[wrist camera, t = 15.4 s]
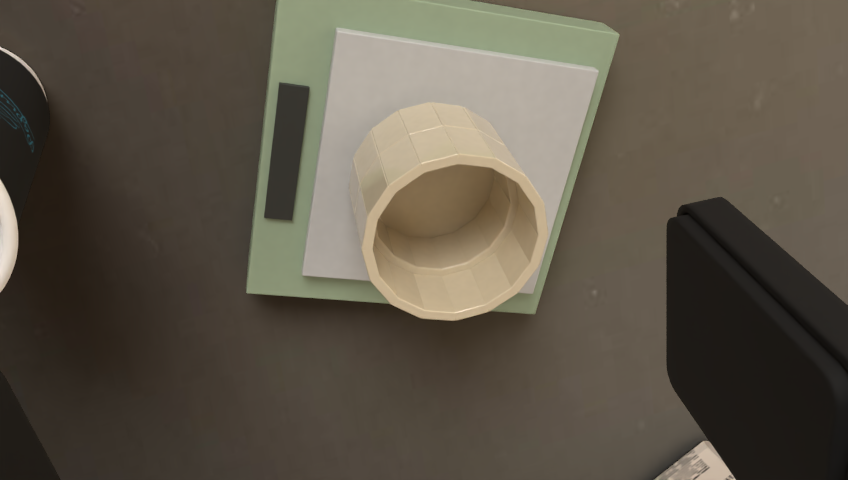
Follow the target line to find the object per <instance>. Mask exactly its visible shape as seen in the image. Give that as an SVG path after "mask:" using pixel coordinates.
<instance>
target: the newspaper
mask: <svg viewBox="0 0 848 480" xmlns="http://www.w3.org/2000/svg"><path fill="white" fill-rule="evenodd" d="M655 480H736V479H735V478H734V476H733V475H732V473H731V472H730V470H729V469H728V467H727V466H726V465H725V463H724V462H723V460H722V459H721V457H720V456H719V454H718V453H717V451H716V450H715V449H714V447H713V446H712V444H711V443H710V442H709V441H703V442H701V443H700V444H699V445H698V446H696V447H695V448H694V449H693V450H691V451H690V452H689V453H687V454H686V455H685V456H684V457H682V458H681V459H680V460H679V461H677V462H676V463H675V464H674V465H672V466H671V467H670V468H668V469H667V470H666V471H665V472H663V473H662V474H661V475H660V476H658V477H657V478H656V479H655Z"/></svg>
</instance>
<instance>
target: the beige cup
mask: <svg viewBox="0 0 848 480" xmlns="http://www.w3.org/2000/svg"><path fill="white" fill-rule="evenodd" d="M349 192H350V197H351V202H352V207H353V211H354V216H355V221H356V226H357V231H358V236H359V241H360V246H361V251H362V254H363V258H364V262H365V265H366V269H367V272H368V276H369V279H370V281H371V283H372V284H373V285H374V286H375V287H376V288H377V289H378V291H379V292H380V293H381V294H382V295H383V296H384V297H385V298H386V300H387V301H388V302H389V303H390V304H391V305H393V306H395V307H397V308H399V309H401V310H403V311H406V312H408V313H410V314H412V315H414V316H416V317H419V318H422V319H434V320H448V321H457V320H461V319H464V318H468V317H472V316H476V315H479V314H483V313H487V312H488V311H491V310H493V309H494V308H496V307H497V306H499V305H500V304H502V303H503V302H505V301H507V300H508V299H510V298H511V297H513V296H514V295H516V294H517V293H518V292H519V291H520V290H521V289H522V287H523V286H524V285H525V283H526V282H527V281H528V280H529V278H530V277H531V276H532V274H533V273H534V272H535V271H536V269H537V268H538V267H539V265H540V261H541V258H542V255H543V251H544V248H545V244H546V241H547V238H548V227H547V219H546V212H545V205H544V201H543V200H542V198H541V197H540V195H539V194H538V192H537V191H536V189H535V188H534V186H533V185H532V184H531V182H530V181H529V179H528V178H527V176H526V175H525V173H524V172H523V170H522V169H521V167H520V166H519V164H518V163H517V161H516V160H515V159H514V157H513V156H512V154H511V153H510V151H509V150H508V148H507V147H506V145H505V144H504V143H503V141H502V140H501V138H500V137H499V135H498V134H497V132H496V131H495V129H494V128H493V126H492V125H491V124H490V123H489V122H488V121H487V120H485V119H483V118H482V117H480V116H478V115H477V114H475V113H473V112H472V111H470V110H468V109H467V108H465V107H462V106H457V105H450V104H442V103H435V102H432V103H431V102H428V103H424V104H420V105H416V106H412V107H408V108H404V109H400V110H399V111H396V112H394V113H393V114H392V115H390V116H389V117H387V118H386V119H385V120H383V121H382V122H380V123H379V124H378V125H376V126H375V127H373V128H372V129H371V130H370V131H369V133H368V135H367V136H366V138H365V139H364V141H363V142H362V144H361V145H360V147H359V149H358V150H357V152H356V153H355V155H354V158H353V162H352V168H351V174H350V180H349Z"/></svg>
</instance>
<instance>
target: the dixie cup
mask: <svg viewBox="0 0 848 480" xmlns="http://www.w3.org/2000/svg"><path fill="white" fill-rule="evenodd" d="M49 125H50V114H49V107H48V103H47V98H46V94H45V91H44V89H43V86H42V84H41V82H40V80H39V79H38V77H37V76H36V74H35V73H34V72H33V70H32V69H31V68H30V67H29V66H28V65H27V64H26V63H25V62H24V61H23V60H21V59H20V58H19V57H17V56H16V55H14V54H13V53H11V52H9V51H8V50H6V49H3V48H1V47H0V292H1V291H2V290H3V288H4V287H5V285H6V283H7V282H8V280H9V278H10V276H11V273H12V271H13V268H14V265H15V261H16V258H17V251H18V224H19V221H20V218H21V215H22V212H23V209H24V206H25V203H26V200H27V196H28V193H29V190H30V187H31V184H32V181H33V178H34V175H35V172H36V169H37V166H38V163H39V159H40V156H41V153H42V150H43V147H44V144H45V141H46V138H47V135H48V131H49Z"/></svg>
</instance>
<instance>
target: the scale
mask: <svg viewBox="0 0 848 480" xmlns="http://www.w3.org/2000/svg"><path fill="white" fill-rule="evenodd" d="M618 39H619V34H618V33H617V32H615V31H614V30H612V29H611V28H609V27H608V26H606V25H605V24H603V23H601V22H595V21H589V20H583V19H577V18H571V17H565V16H560V15H554V14H548V13H542V12H536V11H530V10H524V9H518V8H512V7H506V6H500V5H495V4H489V3H483V2H477V1H471V0H276V7H275V16H274V25H273V35H272V44H271V53H270V63H269V72H268V81H267V91H266V100H265V109H264V119H263V128H262V137H261V147H260V156H259V166H258V175H257V184H256V194H255V203H254V212H253V222H252V231H251V240H250V250H249V259H248V268H247V286H246V293H250V294H263V295H277V296H291V297H305V298H318V299H332V300H346V301H359V302H373V303H387V304H390V303H389V302H388V301H387V300H386V298H385V297H384V296H383V295H382V294H381V293H380V292H379V291H378V289H377V288H376V287H375V286H374V285H373V284H372V283H371V281H370V279H369V276H368V272H367V269H366V265H365V262H364V258H363V254H362V251H361V246H360V241H359V236H358V231H357V226H356V221H355V216H354V211H353V207H352V202H351V197H350V192H349V180H350V174H351V168H352V162H353V158H354V155H355V153H356V152H357V150H358V149H359V147H360V145H361V144H362V142H363V141H364V139H365V138H366V136H367V135H368V133H369V131H370V130H371V129H372V128H373V127H375V126H376V125H378V124H379V123H380V122H382V121H383V120H385V119H386V118H387V117H389V116H390V115H392V114H393V113H394V112H396V111H399V110H400V109H404V108H408V107H412V106H416V105H420V104H424V103H428V102H431V103H432V102H435V103H442V104H450V105H457V106H462V107H465V108H467V109H468V110H470V111H472V112H473V113H475V114H477V115H478V116H480V117H482V118H483V119H485V120H487V121H488V122H489V123H490V124H491V125H492V126H493V128H494V129H495V131H496V132H497V134H498V135H499V137H500V138H501V140H502V141H503V143H504V144H505V145H506V147H507V148H508V150H509V151H510V153H511V154H512V156H513V157H514V159H515V160H516V161H517V163H518V164H519V166H520V167H521V169H522V170H523V172H524V173H525V175H526V176H527V178H528V179H529V181H530V182H531V184H532V185H533V186H534V188H535V189H536V191H537V192H538V194H539V195H540V197H541V198H542V200H543V201H544V205H545V212H546V219H547V227H548V238H547V241H546V244H545V248H544V251H543V255H542V258H541V261H540V265H539V267H538V268H537V269H536V271H535V272H534V273H533V274H532V276H531V277H530V278H529V280H528V281H527V282H526V283H525V285H524V286H523V287H522V289H521V290H520V291H519V292H518V293H517V294H516V295H514V296H513V297H511V298H510V299H508V300H507V301H505V302H503V303H502V304H500V305H499V306H497V307H496V308H494V309H493V310H491V311H497V312H510V313H524V314H535V313H536V309H537V306H538V303H539V299H540V296H541V293H542V289H543V286H544V283H545V280H546V276H547V273H548V270H549V266H550V263H551V260H552V256H553V253H554V250H555V247H556V243H557V240H558V237H559V233H560V230H561V227H562V223H563V220H564V217H565V214H566V210H567V207H568V204H569V200H570V197H571V194H572V190H573V187H574V184H575V181H576V177H577V174H578V171H579V167H580V164H581V161H582V157H583V154H584V151H585V148H586V144H587V141H588V138H589V134H590V131H591V128H592V124H593V121H594V118H595V115H596V111H597V108H598V105H599V101H600V98H601V95H602V91H603V88H604V85H605V82H606V78H607V75H608V72H609V68H610V65H611V62H612V58H613V55H614V52H615V49H616V45H617V42H618Z"/></svg>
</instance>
